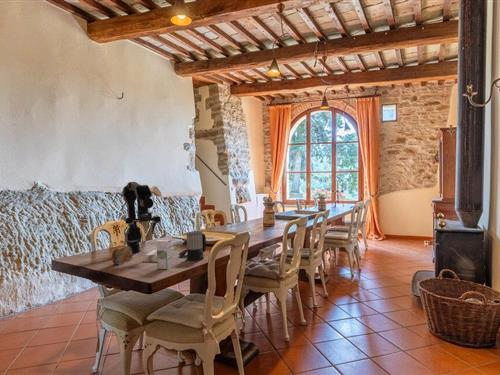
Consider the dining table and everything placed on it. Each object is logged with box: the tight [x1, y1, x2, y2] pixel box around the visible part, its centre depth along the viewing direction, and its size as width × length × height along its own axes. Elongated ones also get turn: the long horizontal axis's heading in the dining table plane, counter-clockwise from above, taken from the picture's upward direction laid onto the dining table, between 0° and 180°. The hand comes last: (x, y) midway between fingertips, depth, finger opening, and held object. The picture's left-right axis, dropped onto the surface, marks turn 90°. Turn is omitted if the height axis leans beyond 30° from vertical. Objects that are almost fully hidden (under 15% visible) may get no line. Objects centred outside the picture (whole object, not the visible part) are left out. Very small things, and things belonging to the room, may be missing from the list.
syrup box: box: [155, 238, 173, 270], centre depth 175 cm, size 6×6×14 cm
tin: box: [111, 245, 134, 266], centre depth 190 cm, size 15×3×8 cm, turn 163°
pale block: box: [143, 247, 176, 263], centre depth 200 cm, size 10×20×4 cm, turn 170°
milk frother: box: [178, 230, 207, 262], centre depth 196 cm, size 14×16×15 cm
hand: (143, 235), depth 197 cm, fingers open, 9 cm apart
